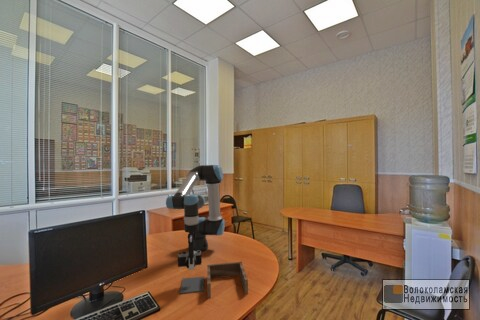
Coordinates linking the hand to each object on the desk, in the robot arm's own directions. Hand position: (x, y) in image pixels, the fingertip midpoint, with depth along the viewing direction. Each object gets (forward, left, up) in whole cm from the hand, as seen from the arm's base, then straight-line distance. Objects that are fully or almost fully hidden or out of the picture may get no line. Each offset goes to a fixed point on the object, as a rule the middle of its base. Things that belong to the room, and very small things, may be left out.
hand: (192, 266), depth 117 cm
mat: (0, 0, -10) cm, 10 cm away
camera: (0, -1, 0) cm, 1 cm away
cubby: (+3, +18, -10) cm, 21 cm away
